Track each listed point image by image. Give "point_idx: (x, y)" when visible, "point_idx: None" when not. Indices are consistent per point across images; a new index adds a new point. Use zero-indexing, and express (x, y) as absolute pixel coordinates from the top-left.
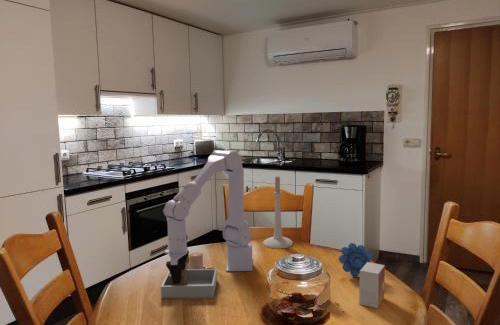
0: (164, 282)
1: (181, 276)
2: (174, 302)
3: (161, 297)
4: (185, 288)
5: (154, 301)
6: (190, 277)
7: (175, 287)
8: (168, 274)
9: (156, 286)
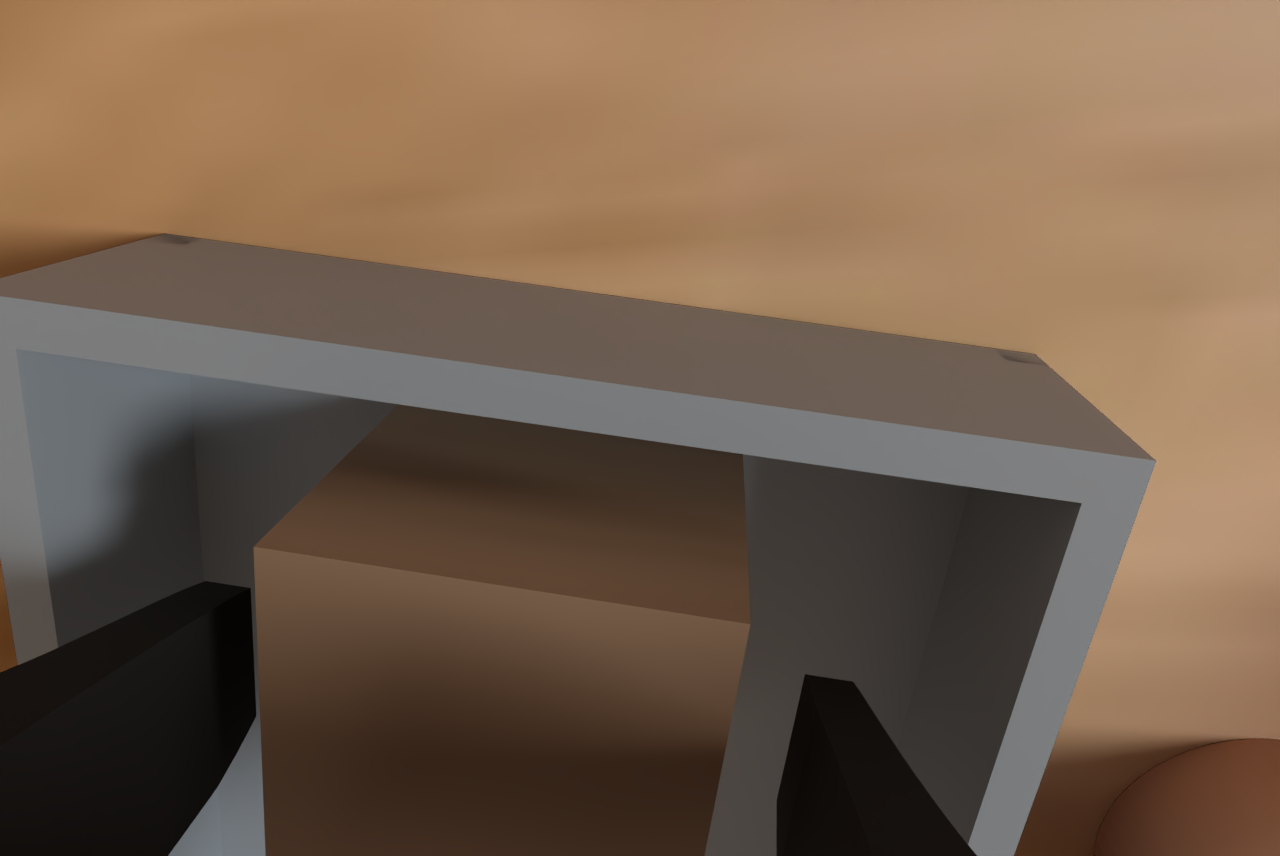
0: (211, 371)
1: (278, 834)
2: None
3: (143, 243)
4: None
5: (59, 98)
6: None
7: (34, 613)
8: (766, 452)
9: (801, 54)
